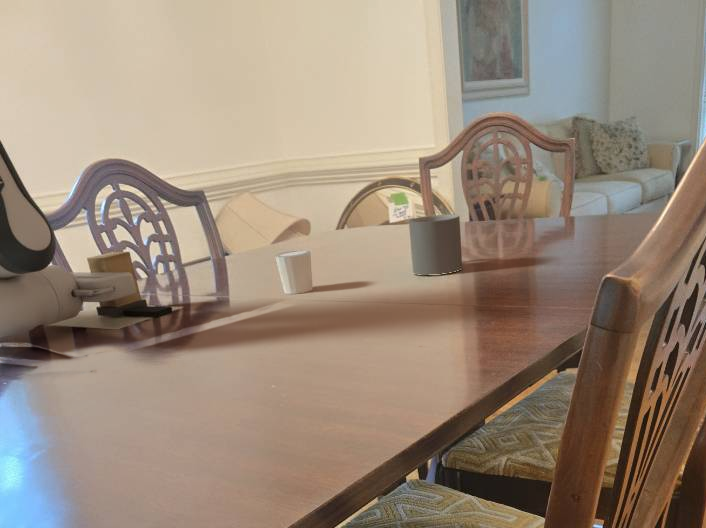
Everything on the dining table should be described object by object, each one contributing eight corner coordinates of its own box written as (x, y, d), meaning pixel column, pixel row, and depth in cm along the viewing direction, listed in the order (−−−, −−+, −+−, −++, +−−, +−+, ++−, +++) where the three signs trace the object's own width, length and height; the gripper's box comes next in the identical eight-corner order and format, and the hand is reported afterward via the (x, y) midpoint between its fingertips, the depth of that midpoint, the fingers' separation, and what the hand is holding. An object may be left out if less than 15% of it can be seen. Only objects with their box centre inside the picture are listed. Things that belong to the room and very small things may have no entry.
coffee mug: (461, 273, 150) (458, 218, 146) (411, 277, 151) (406, 223, 147) (463, 262, 162) (460, 210, 157) (416, 266, 163) (412, 215, 158)
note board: (37, 329, 141) (35, 324, 141) (105, 309, 153) (104, 304, 153) (119, 334, 131) (117, 328, 130) (185, 312, 143) (184, 306, 142)
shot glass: (274, 294, 149) (268, 257, 146) (291, 287, 155) (286, 250, 151) (305, 294, 147) (299, 255, 143) (321, 286, 152) (316, 249, 149)
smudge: (124, 316, 139) (122, 310, 139) (140, 311, 142) (139, 305, 142) (139, 317, 137) (138, 311, 137) (156, 311, 140) (154, 306, 140)
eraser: (98, 315, 141) (82, 258, 136) (127, 306, 146) (112, 251, 141) (119, 316, 138) (103, 258, 134) (148, 307, 143) (133, 251, 139)
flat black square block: (140, 316, 138) (139, 311, 137) (157, 311, 141) (155, 305, 140) (156, 317, 136) (155, 311, 135) (172, 312, 139) (171, 306, 138)
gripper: (90, 274, 123) (154, 258, 134) (11, 274, 133) (76, 259, 143) (101, 314, 126) (162, 295, 137) (23, 311, 136) (86, 293, 146)
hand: (118, 276), depth 140 cm, fingers closed on eraser, 4 cm apart
